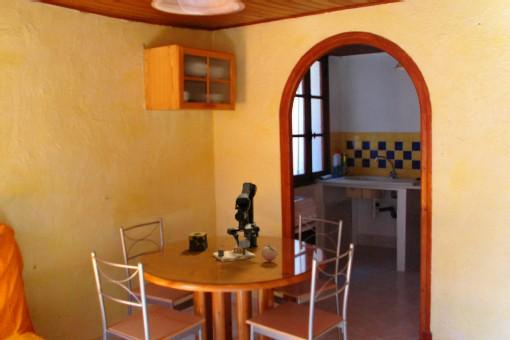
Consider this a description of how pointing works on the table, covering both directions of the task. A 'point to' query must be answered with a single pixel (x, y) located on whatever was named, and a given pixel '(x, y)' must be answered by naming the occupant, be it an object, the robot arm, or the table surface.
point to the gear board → (232, 255)
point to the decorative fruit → (269, 253)
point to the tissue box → (198, 241)
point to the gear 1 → (237, 249)
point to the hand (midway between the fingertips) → (243, 244)
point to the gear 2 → (244, 243)
